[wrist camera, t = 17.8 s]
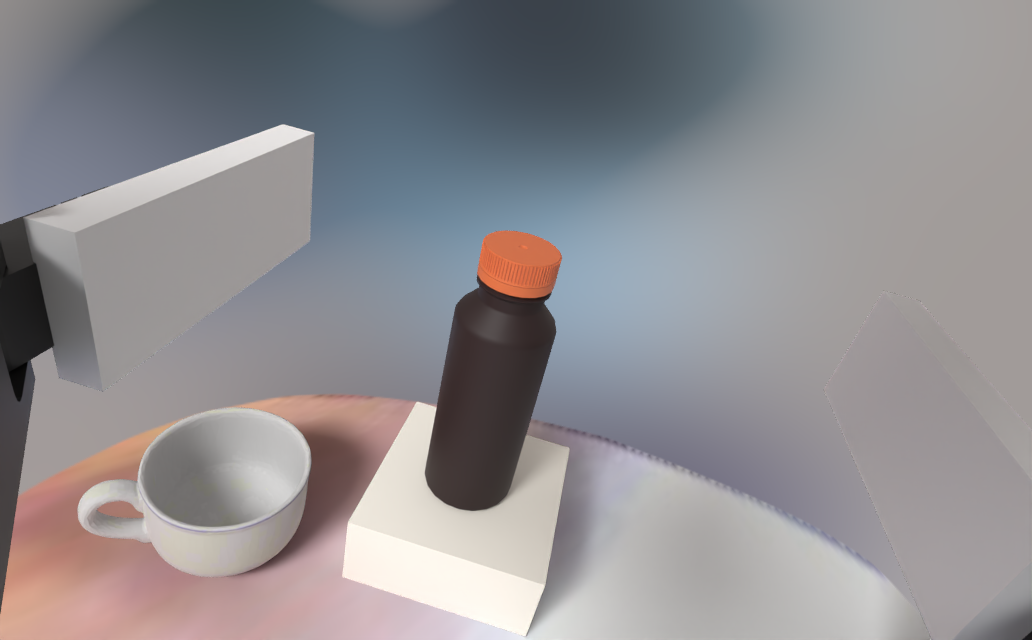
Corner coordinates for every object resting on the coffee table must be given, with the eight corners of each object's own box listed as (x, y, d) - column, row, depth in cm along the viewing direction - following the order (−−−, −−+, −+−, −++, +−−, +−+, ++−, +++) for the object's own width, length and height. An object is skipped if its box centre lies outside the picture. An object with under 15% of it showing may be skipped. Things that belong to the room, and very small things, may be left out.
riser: (553, 495, 55) (569, 447, 52) (525, 636, 43) (545, 585, 40) (408, 450, 56) (417, 401, 53) (342, 576, 44) (347, 522, 41)
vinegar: (405, 484, 45) (446, 243, 35) (453, 435, 50) (500, 214, 40) (484, 529, 43) (551, 287, 33) (524, 473, 48) (592, 251, 38)
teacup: (305, 474, 51) (308, 402, 47) (311, 588, 43) (315, 513, 39) (112, 491, 46) (97, 412, 42) (76, 625, 37) (52, 542, 33)
